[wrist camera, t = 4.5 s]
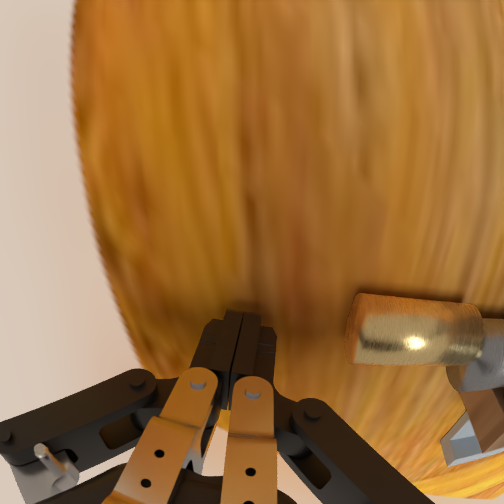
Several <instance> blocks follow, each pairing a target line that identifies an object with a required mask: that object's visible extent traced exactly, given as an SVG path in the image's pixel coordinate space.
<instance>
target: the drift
mask: <svg viewBox="0 0 504 504" xmlns="http://www.w3.org/2000/svg"><path fill="white" fill-rule="evenodd" d="M482 339H483V320H482V316H481V314H480V312H479V310H478V309H477V307H476V306H474V305H472V304H467V303H455V302H444V301H434V300H423V299H413V298H403V297H394V296H385V295H375V294H366V293H358V294H357V295H356V296H355V297H354V300H353V303H352V306H351V309H350V313H349V316H348V319H347V324H346V331H345V353H346V358H347V360H348V362H349V363H350V364H364V365H389V366H451V365H466V364H468V363H470V362H471V361H472V360H473V359H474V358H475V357H476V355H477V353H478V352H479V349H480V347H481V344H482Z"/></svg>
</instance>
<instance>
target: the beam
mask: <svg viewBox="0 0 504 504" xmlns="http://www.w3.org/2000/svg"><path fill="white" fill-rule="evenodd" d="M459 394H460V396H461V398H462V401H463V403H464V405H465V408H466V410H467V413H468V415H469V418H470V421H471V423H472V426H473V429H474V431H475V434H476V437H477V440H478V442H479V445H480V448H481V451H482V454H483V453H487V452H490V451H493V450H496V449H500V448H503V447H504V387H499V388H492V389H485V390H477V391H469V392H459Z"/></svg>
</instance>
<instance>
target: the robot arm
mask: <svg viewBox="0 0 504 504" xmlns="http://www.w3.org/2000/svg"><path fill="white" fill-rule="evenodd" d="M261 317H262V314H256V313H249V312H245V314H244V312H242V311H235V310H229V309H227V311H226V314H225V317H224V320H217V319H212V320H211V321H210V322H209V323H208V324H207V325H206V326H205V328H204V331H203V333H202V336H201V339H200V342H199V344H198V347H197V349H196V352H195V354H194V357H193V360H192V362H191V365H190V367H189V369H187V370H185V371H184V372H183V373H182V374H181V375H180V377H177V378H173V379H156V378H155V376H154V375H153V374H152V373H151V372H149V371H147V370H145V369H131V370H129V371H126V372H124V373H122V374H119V375H117V376H115V377H113V378H110V379H108V380H106V381H103V382H101V383H99V384H96V385H94V386H92V387H89V388H87V389H85V390H82V391H80V392H77V393H75V394H73V395H70V396H68V397H65V398H63V399H60V400H58V401H55V402H53V403H50V404H48V405H45V406H42V407H40V408H38V409H35V410H32V411H29V412H27V413H24V414H21V415H19V416H16V417H13V418H11V419H8V420H5V421H2V422H0V454H1V455H2V456H3V457H4V459H5V460H6V461H7V462H8V463H9V464H10V466H11V469H12V472H13V474H14V477H15V480H16V482H17V485H18V487H19V489H20V492H21V494H22V496H23V499H24V501H25V503H26V504H297V503H296V502H295V501H294V500H293V499H292V498H290V497H289V496H288V495H286V494H285V493H283V492H282V491H280V490H278V489H277V451H279V453H280V455H281V457H282V458H283V459H284V460H285V462H286V463H287V464H288V465H289V466H290V468H291V469H292V470H293V471H294V472H295V473H296V474H297V475H298V477H299V478H300V479H301V480H302V481H303V483H304V484H306V486H307V487H308V488H309V489H310V490H311V492H312V493H313V494H314V495H315V496H316V497H317V498H318V499H319V500H320V501H321V502H322V503H323V504H435V503H434V502H432V501H431V500H430V499H429V498H428V497H427V496H425V495H424V494H423V493H422V492H421V491H420V490H418V489H417V488H416V487H415V486H414V485H413V484H412V483H410V482H409V481H408V480H407V479H406V478H405V477H404V476H402V475H401V474H400V473H399V472H398V471H397V470H396V469H395V468H394V467H392V466H391V465H390V464H389V463H388V462H387V461H386V460H385V459H384V458H383V457H382V456H380V455H379V454H378V453H377V452H376V451H375V450H374V449H373V448H372V447H371V446H370V445H369V444H368V443H367V442H365V441H364V440H363V439H362V438H361V437H360V436H359V435H358V434H357V433H356V432H355V431H354V430H353V429H352V428H351V427H350V426H349V425H348V424H347V423H346V422H345V421H344V420H343V419H342V418H341V417H340V416H338V415H337V414H336V413H335V412H334V411H333V410H332V409H331V408H330V407H329V406H328V405H327V404H326V403H325V402H323V401H321V400H319V399H315V398H306V399H302V400H300V401H299V402H295V401H292V400H290V399H287V398H285V397H283V396H282V395H280V394H279V393H278V392H277V390H276V389H275V387H274V384H273V376H274V365H275V352H276V340H277V336H276V334H275V332H274V330H273V328H272V327H264V326H260V324H261ZM243 318H244V319H243ZM228 402H229V409H228V410H231V414H230V423H229V432H228V439H227V447H226V457H225V466H224V475H223V476H202V475H201V473H202V469H203V463H204V460H205V457H206V454H207V451H208V448H209V446H210V442H211V440H212V437H213V434H214V431H215V428H216V425H217V421H218V418H219V414H220V410H221V409H224V410H227V406H228ZM135 446H136V447H135ZM133 447H135V449H134V451H133V453H132V455H131V457H130V459H129V461H128V463H124V464H120V465H117V466H115V467H113V468H111V469H109V470H107V471H105V472H104V473H101V474H99V475H97V476H95V477H93V478H91V479H89V480H87V481H85V482H83V483H81V484H79V485H77V482H78V480H79V473H80V472H82V471H85V470H87V469H89V468H91V467H94V466H96V465H98V464H100V463H102V462H105V461H107V460H109V459H111V458H113V457H115V456H117V455H119V454H121V453H123V452H125V451H127V450H129V449H131V448H133Z"/></svg>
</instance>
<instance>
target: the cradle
mask: <svg viewBox="0 0 504 504" xmlns="http://www.w3.org/2000/svg"><path fill="white" fill-rule="evenodd" d="M440 442H441V446H442V449H443V453H444V456H445V460H446V464H447V467H449V466H453V465H457V464H461V463H465V462H469V461H473V460H476V459H480V458H483V457H487V456H490V455H493V454H496V453H499V452H502V451H504V447H503V448H500V449H496V450H493V451H490V452H487V453H483V454H482V451H481V448H480V445H479V442H478V440H477V437H476V434H475V431H474V429H473V426H472V423H471V421H470V418H469V415H468V413H467V411H466V412H465V413H464V414H463V416H462V417H461V418H460V419H459V420H458V422H457V423H456V424H455V425H454V426H453V427H452V428H451V430H450V431H449V432H448V433H447V434H446V435H445V436H444V437H443V438H442V439H441V440H440Z"/></svg>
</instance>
